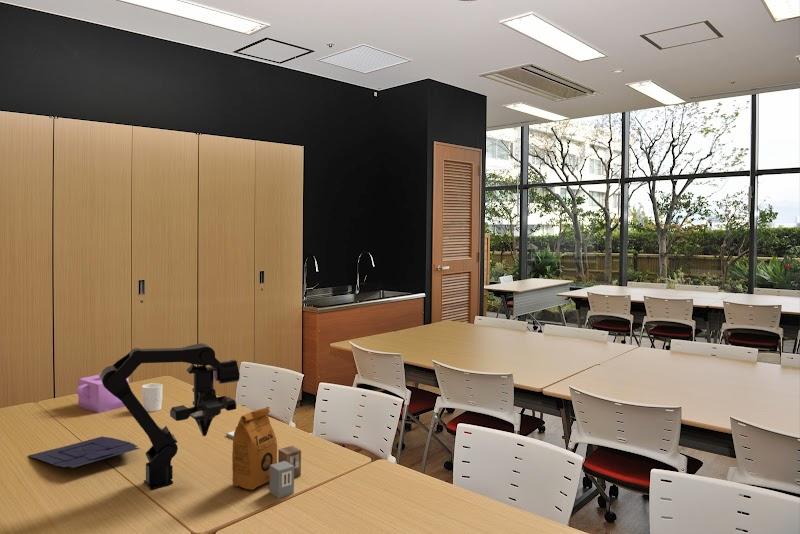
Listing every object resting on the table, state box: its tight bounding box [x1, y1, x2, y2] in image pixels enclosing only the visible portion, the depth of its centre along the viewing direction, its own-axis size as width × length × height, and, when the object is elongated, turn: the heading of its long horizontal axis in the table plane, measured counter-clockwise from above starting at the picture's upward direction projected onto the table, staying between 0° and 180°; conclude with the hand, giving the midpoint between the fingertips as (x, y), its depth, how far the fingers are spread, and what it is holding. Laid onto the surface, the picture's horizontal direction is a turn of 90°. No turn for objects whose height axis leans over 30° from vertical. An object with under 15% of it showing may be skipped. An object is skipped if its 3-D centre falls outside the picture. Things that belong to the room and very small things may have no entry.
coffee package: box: [231, 406, 278, 491], centre depth 174 cm, size 10×12×22 cm
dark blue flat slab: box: [27, 435, 141, 469], centre depth 190 cm, size 24×30×4 cm
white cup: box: [141, 382, 164, 413], centre depth 241 cm, size 8×8×10 cm
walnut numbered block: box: [277, 445, 302, 479], centre depth 180 cm, size 5×5×8 cm
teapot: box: [75, 372, 130, 414], centre depth 245 cm, size 15×25×14 cm, turn 147°
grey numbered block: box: [269, 461, 295, 499], centre depth 168 cm, size 5×5×8 cm
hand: (204, 435), depth 179 cm, fingers closed
